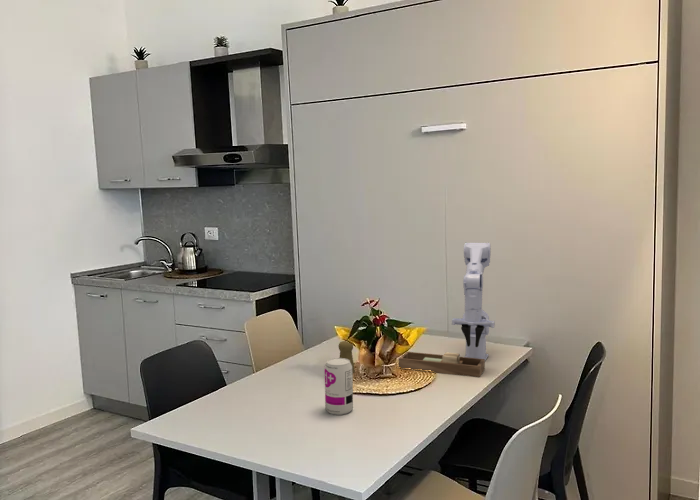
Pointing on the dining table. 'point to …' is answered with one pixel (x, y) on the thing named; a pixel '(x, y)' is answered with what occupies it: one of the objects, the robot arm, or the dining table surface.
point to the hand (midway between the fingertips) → (472, 346)
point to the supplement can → (338, 386)
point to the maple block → (451, 358)
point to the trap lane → (442, 364)
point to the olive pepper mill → (346, 352)
